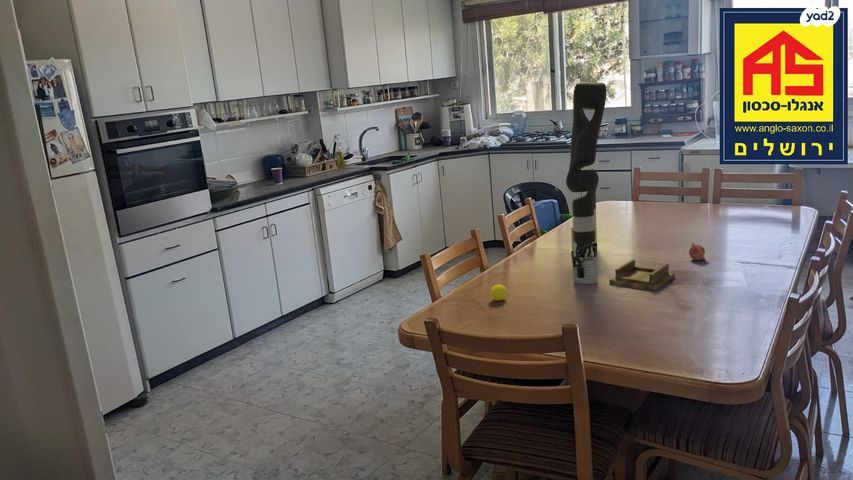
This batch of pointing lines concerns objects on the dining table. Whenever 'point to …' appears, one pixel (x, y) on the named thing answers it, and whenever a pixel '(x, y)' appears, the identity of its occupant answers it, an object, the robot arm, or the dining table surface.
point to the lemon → (498, 292)
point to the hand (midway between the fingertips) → (585, 275)
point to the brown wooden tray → (641, 276)
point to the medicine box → (587, 272)
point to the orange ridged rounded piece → (697, 252)
